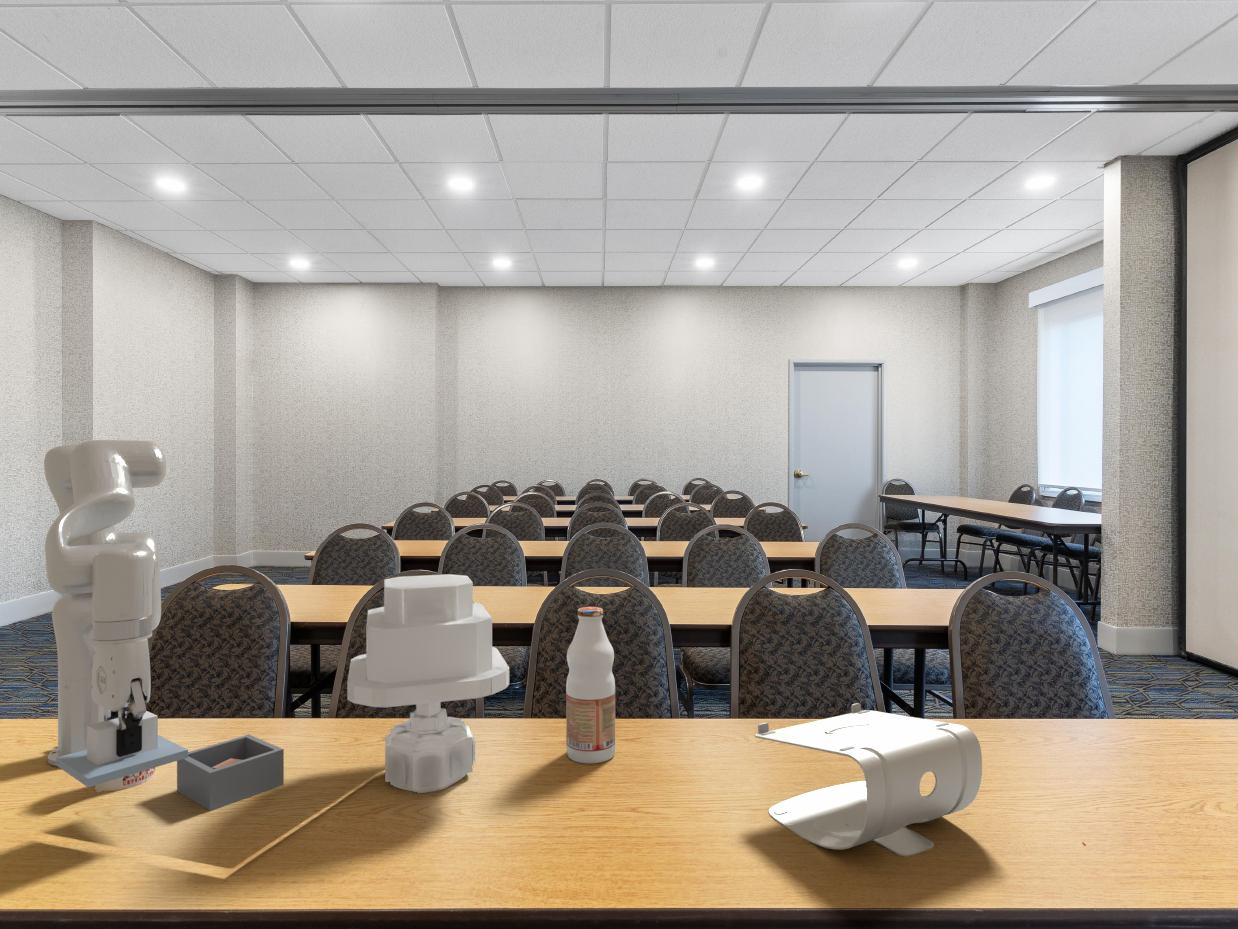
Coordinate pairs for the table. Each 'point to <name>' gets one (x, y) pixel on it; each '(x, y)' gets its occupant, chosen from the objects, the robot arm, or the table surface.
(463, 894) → the table surface
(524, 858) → the table surface
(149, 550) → the robot arm
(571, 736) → the fruit juice
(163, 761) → the lid
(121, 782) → the teacup with lid
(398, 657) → the white tiered tall piece
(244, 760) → the storage box
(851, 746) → the portable electronic device stand
